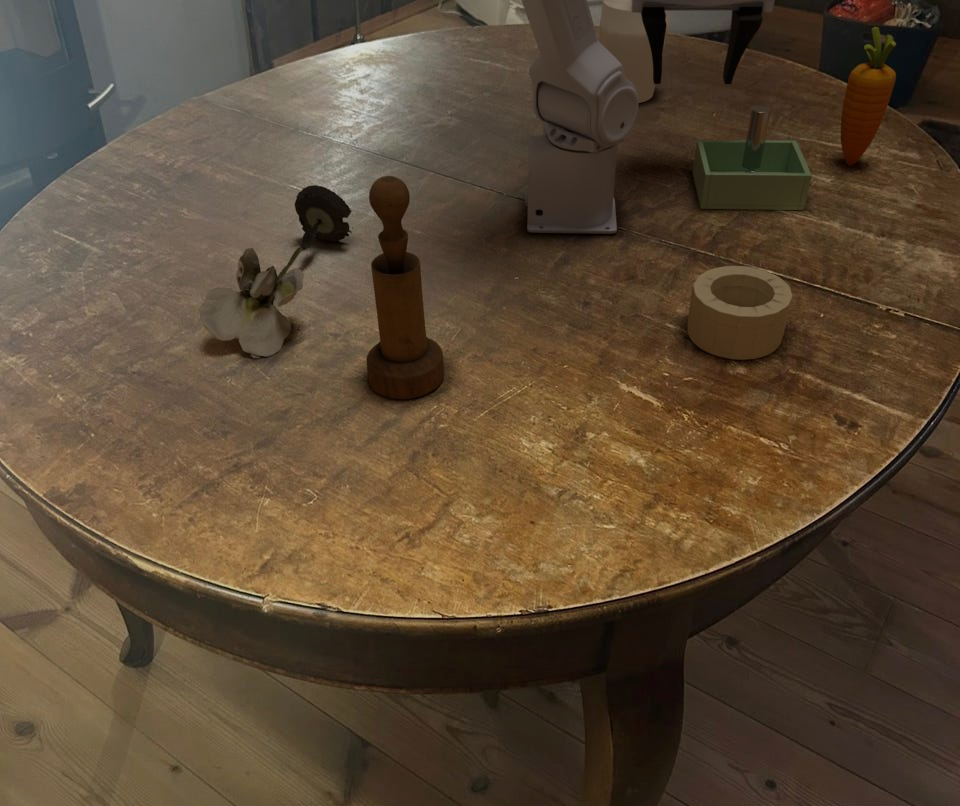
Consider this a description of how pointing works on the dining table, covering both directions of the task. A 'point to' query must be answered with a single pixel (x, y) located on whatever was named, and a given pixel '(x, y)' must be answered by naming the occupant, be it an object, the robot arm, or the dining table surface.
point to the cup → (629, 44)
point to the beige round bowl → (738, 312)
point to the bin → (750, 176)
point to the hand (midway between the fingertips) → (691, 80)
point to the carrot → (866, 99)
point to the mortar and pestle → (399, 305)
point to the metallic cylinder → (756, 138)
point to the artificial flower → (272, 280)
